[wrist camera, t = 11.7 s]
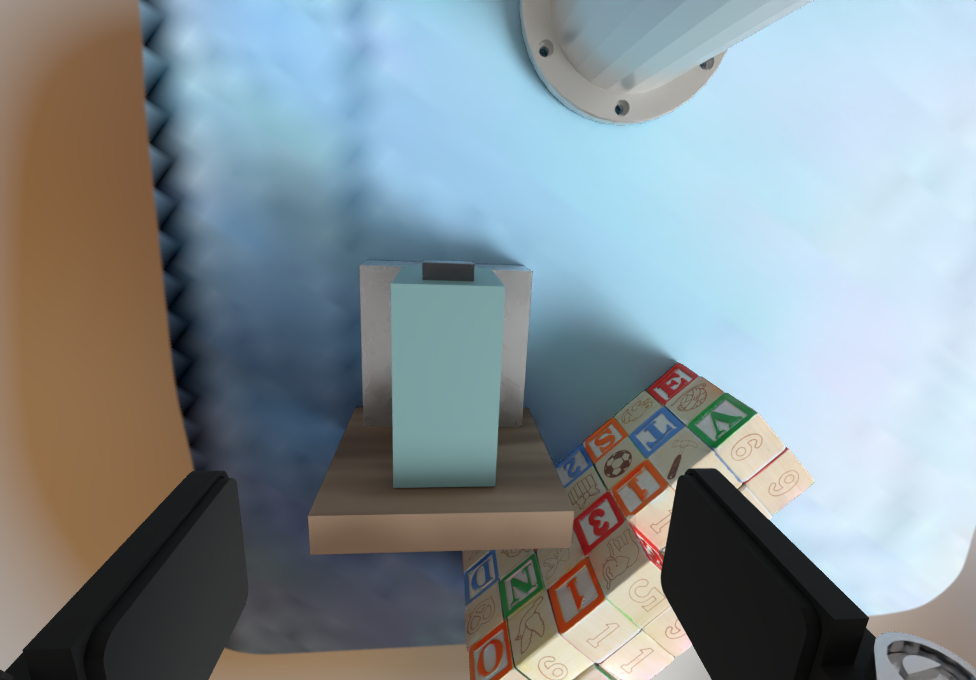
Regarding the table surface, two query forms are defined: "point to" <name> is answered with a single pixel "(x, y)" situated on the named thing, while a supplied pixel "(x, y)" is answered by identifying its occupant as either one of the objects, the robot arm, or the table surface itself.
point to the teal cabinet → (446, 374)
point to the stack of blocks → (619, 540)
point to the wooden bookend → (438, 510)
